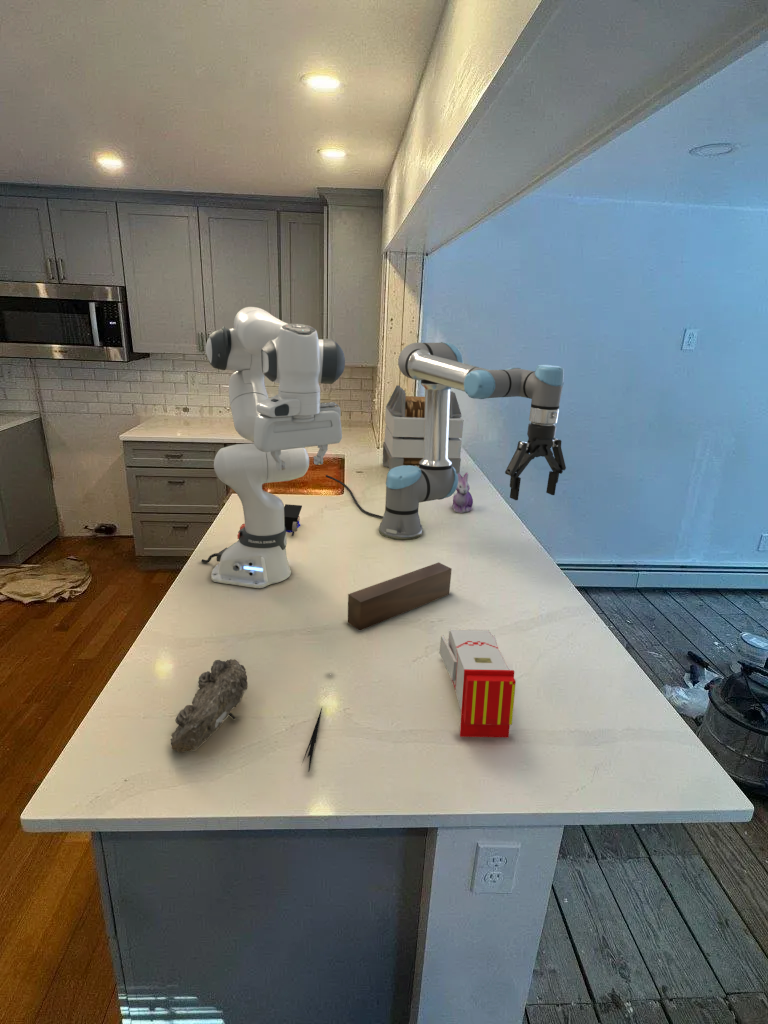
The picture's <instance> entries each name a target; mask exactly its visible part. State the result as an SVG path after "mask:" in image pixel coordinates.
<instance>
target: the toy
mask: <svg viewBox="0 0 768 1024" xmlns="http://www.w3.org/2000/svg"><path fill="white" fill-rule="evenodd" d="M438 654H439V656H440V658H441V660H442V662H443V665H444V666H445V668H446V671H447V673H448V675H449V677H450V681H451V683H452V685H453V689H454V690H455V695H456V698H457V702H458V705H459V708H460V726H459V737H460V738H509V737H510V728H511V727H510V726H512V725H513V717H514V706H515V705H514V704H515V693H516V684H517V683H516V679H515V670H514V669H510V667H509V666H508V663H507V662H506V660H505V658H504V655H503V654H502V652H501V650H500V648H499V644H498V642H497V638H496V635H495V634H492V632H491V631H490V629H467V628H466V629H465V628H463V629H461V628H460V629H459V628H450V629H449V631H448V641H447V639H446V638H445V636H444V634H443V635H442V634H441V635H440V641H439V651H438Z"/></svg>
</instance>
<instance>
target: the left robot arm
mask: <svg viewBox="0 0 768 1024" xmlns="http://www.w3.org/2000/svg"><path fill="white" fill-rule="evenodd" d="M205 354H206V355H205V356H206V358H207V360H208V362H209V364H210V365H211V367H212V368H214V369H215V370H220V371H226V370H229V371H234V372H232V374H231V375H230V377H229V378H228V398H229V407H230V412H231V417H232V421H233V426H234V429H235V431H236V432H237V434H238V435H239V436H240V437H241V438H243V439H245V440H247V441H250V442H251V443H236V444H233V445H229V446H225V447H221V448H220V449H218V451H217V452H216V454H215V456H214V460H213V470H214V474H215V475H216V477H217V478H218V479H219V481H220V482H221V483H223V484H225V485H226V486H228V487H229V488H230V489H232V490H233V491H234V492H235V494H236V495H237V496H238V498H239V500H240V503H241V505H242V511H243V519H244V520H243V521H244V523H242V524H241V526H240V527H239V530H238V531H237V535H236V536H237V540H236V541H235V542H234V543H232V544H231V545H229V546H228V547H225V548H223V549H222V550H221V551H219V552H216V553H213V554H211V555H209V556H208V558H207V559H204V558H203V559H201V563H205V564H208V563H210V562H211V561H212V559H213V558H215V557H216V562H218V563H217V564H216V565H215V566H214V567H213V569H212V570H211V576H210V579H211V581H212V582H214V583H221V584H227V585H233V586H240V587H247V588H254V589H263V588H266V587H268V586H269V585H274V584H277V583H280V582H283V581H285V580H287V579H288V578H289V577H290V576H291V574H292V570H291V568H290V564H289V560H288V555H287V554H288V553H287V544H288V534H287V533H288V532H286V528H285V526H284V506H285V504H284V502H283V501H282V499H281V498H280V497H279V496H278V495H275V494H273V493H271V492H268V491H266V490H264V489H263V485H264V484H268V483H281V482H289V481H294V480H297V479H299V478H303V477H304V476H305V475H306V474H307V472H308V470H309V467H310V456H309V453H308V450H307V449H306V448H310V447H317V448H318V451H317V453H316V455H313V464H314V465H316V466H320V465H323V464H324V457H325V456H326V453H327V452H328V449H329V448H328V447H329V445H335V444H340V442H341V441H342V439H343V430H342V421H341V415H342V414H341V411H342V409H341V407H340V405H339V404H338V403H336V402H335V401H329V402H321V387H320V384H323V385H324V384H325V385H333V384H334V383H336V381H338V379H339V378H341V377H342V375H343V373H344V371H345V368H346V357H345V353H344V350H343V348H342V347H341V346H340V345H339V343H338V342H337V341H335V339H334V338H323V339H321V338H319V335H318V331H317V329H316V328H314V327H313V326H311V325H308V324H303V323H287V322H285V321H283V320H281V319H279V318H277V317H276V316H274V315H273V314H272V313H270V312H269V311H267V310H265V309H263V308H260V307H256V306H245V307H243V308H241V309H240V310H239V311H238V312H237V313H236V315H235V317H234V319H233V327H232V328H229V327H227V328H226V327H225V326H222V327H221V328H220V329H217V330H215V331H213V332H211V333H210V334H209V335H208V338H207V341H206V344H205ZM265 377H266V378H267V379H268V380H269V381H270V382H272V383H275V384H278V388H277V389H278V390H277V391H278V392H277V394H276V395H274V396H273V395H272V396H271V397H269V395H268V392H267V391H268V390H267V388H266V384H265V383H266V382H265Z"/></svg>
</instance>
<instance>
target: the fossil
mask: <svg viewBox="0 0 768 1024" xmlns="http://www.w3.org/2000/svg"><path fill="white" fill-rule="evenodd" d="M197 683H198V684H197V687H198V690H197V691H196V693H195V694H194V697H193V698H192V701H191V704H187V705H185V706H184V707H183V708H182V709H181V710H179V712H178V713H177V715H176V717H175V719H174V721H175V723H176V725H177V726H176V728H175V730H174V731H173V732H172V733H171V735H170V736H171V738H170V747H171V750H172V751H176V752H178V753H186V752H190V751H193V752H195V751H197V750H198V749H199V748H200V747H201V746H202V745H203V744H204V743H205V742H207V741H208V740H209V739H210V737H211V736H212V735H213V734H215V733H216V731H218V730H219V729H220V728H221V726H222V725H223V723H224V721H225V720H226V719H227V718H228V717H230V718H232V720H235V719H236V716H235V715H234V714H233V713H232V710H233V709H235V708H237V706H238V705H239V704H240V702H241V700H242V698H243V696H244V693H245V691H246V690H247V689H248V686H249V685H248V675H247V669H246V668H245V666H244V665H243V664H241V663H240V661H238V660H237V659H236V658H234V659H232V658H230V659H226V660H221V659H216V660H214V661H213V662H212V665H211V667H210V671H208V670H207V671H205V672H201V674H200V675H199V676H198V681H197Z"/></svg>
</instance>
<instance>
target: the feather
mask: <svg viewBox="0 0 768 1024" xmlns="http://www.w3.org/2000/svg"><path fill="white" fill-rule="evenodd" d="M329 675H330V676H331V675H332V674H331V673H330V674H329ZM322 710H323V707H321V708H320V710H319V713H318V716H317V719H316V723H315V725H314V728H313V731H312V733H311V737H310V739H309V742H308V745H307V748H306V751H305V754H304V757H303V760H302V763H301V767H302V765H303V763H304V761H305V758H308V759H309V760H308V762H307V763H308V764H307V766H308V771H310V770H311V766H312V765H311V764H312V760H313V757H315V756H314V755H315V751H316V749H315V746H317V739H318V733H319V729H320V722H321V717H322V712H323V711H322ZM313 754H314V755H313ZM306 755H307V757H306Z"/></svg>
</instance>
